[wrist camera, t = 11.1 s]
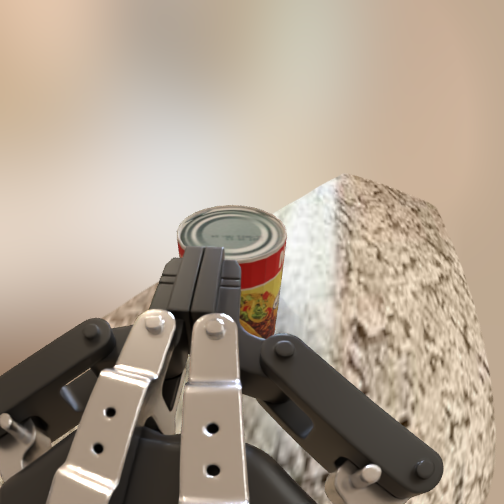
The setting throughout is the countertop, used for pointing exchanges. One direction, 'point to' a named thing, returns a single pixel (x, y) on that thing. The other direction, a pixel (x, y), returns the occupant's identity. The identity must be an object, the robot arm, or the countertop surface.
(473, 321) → the countertop surface
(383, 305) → the countertop surface
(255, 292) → the canned food
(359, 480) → the robot arm
